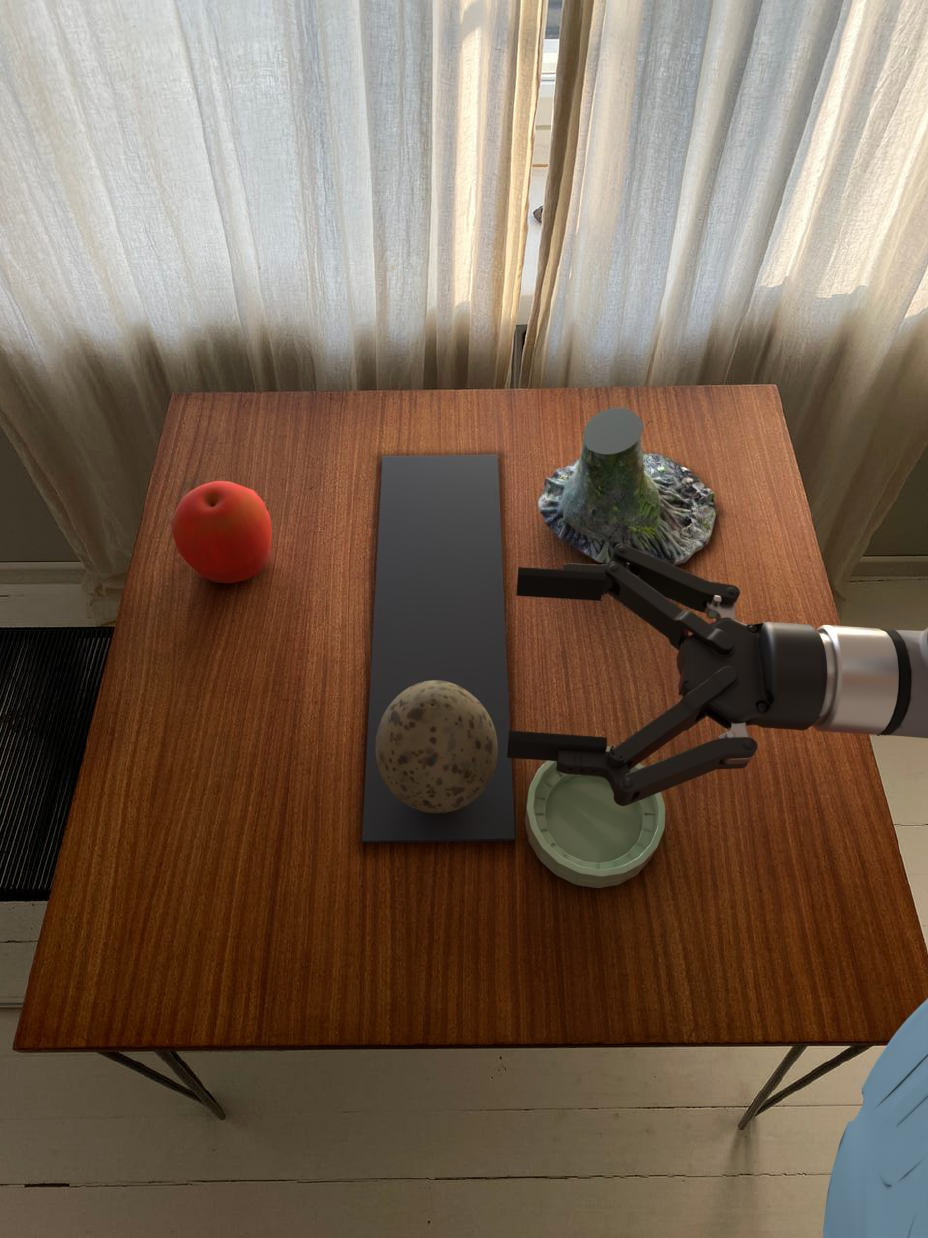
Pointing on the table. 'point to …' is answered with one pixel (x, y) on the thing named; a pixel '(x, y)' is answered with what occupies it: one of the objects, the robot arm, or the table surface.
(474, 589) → the mat
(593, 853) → the bowl
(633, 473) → the tree stump
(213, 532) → the apple
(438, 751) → the decorative egg
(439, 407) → the table surface
